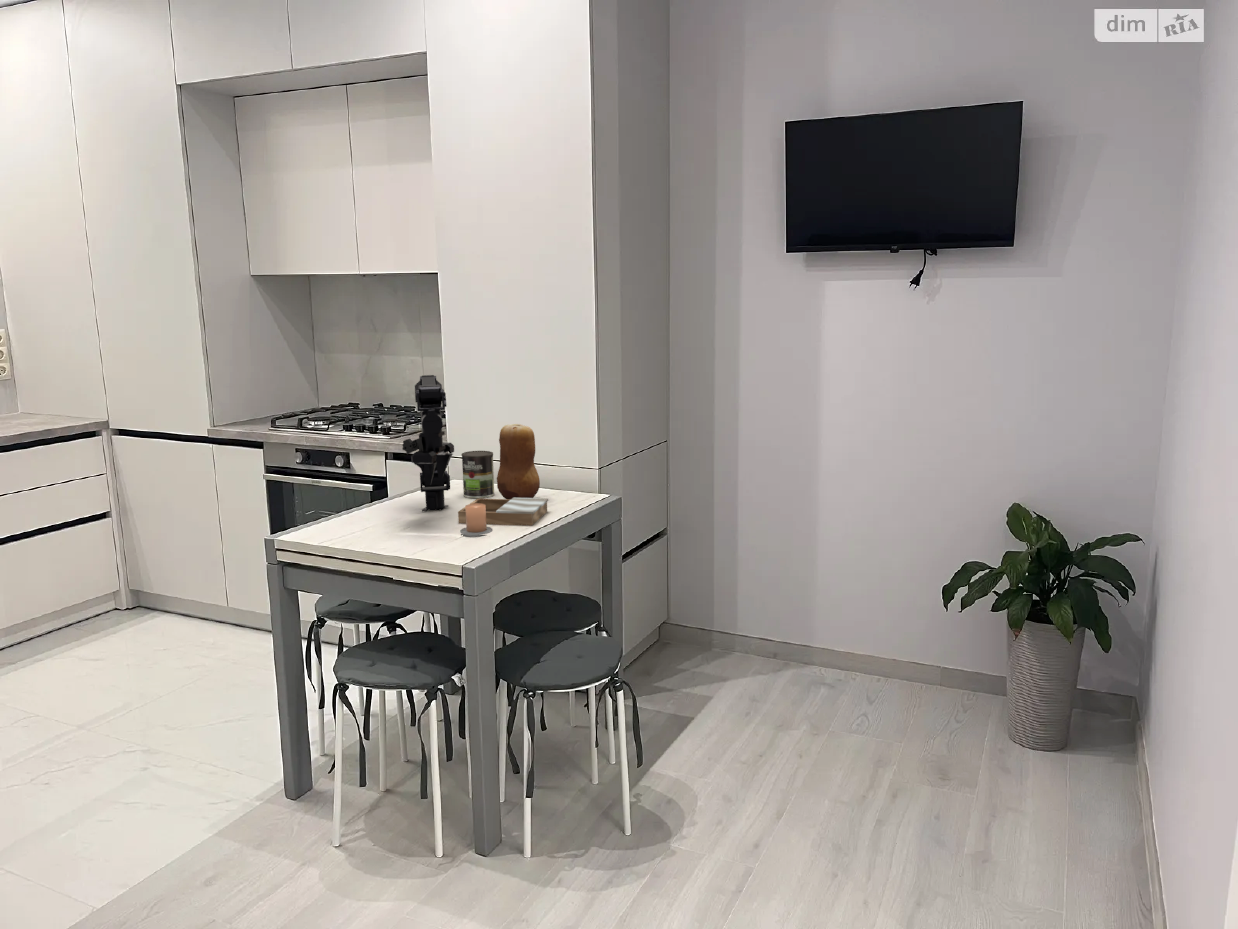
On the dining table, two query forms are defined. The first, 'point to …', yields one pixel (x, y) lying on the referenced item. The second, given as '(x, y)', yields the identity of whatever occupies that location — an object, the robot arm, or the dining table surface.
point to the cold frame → (510, 511)
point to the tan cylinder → (476, 517)
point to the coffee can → (478, 474)
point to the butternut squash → (517, 463)
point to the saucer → (478, 534)
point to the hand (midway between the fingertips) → (434, 481)
